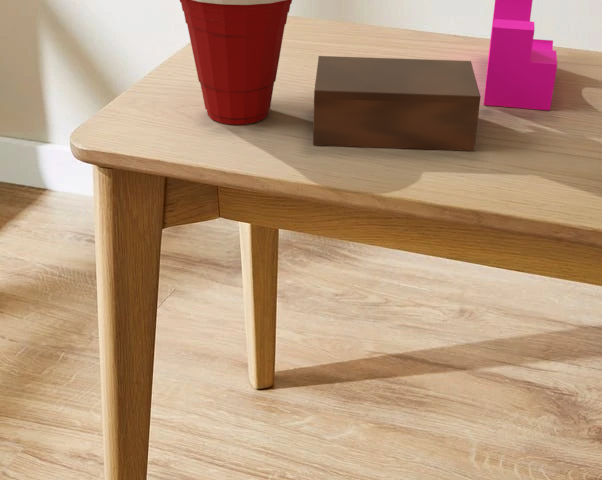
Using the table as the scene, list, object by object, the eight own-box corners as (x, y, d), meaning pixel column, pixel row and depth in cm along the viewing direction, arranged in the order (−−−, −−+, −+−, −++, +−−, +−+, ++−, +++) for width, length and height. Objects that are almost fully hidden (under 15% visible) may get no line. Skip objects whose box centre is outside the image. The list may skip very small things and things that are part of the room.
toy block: (549, 110, 93) (562, 32, 89) (483, 104, 94) (492, 27, 90) (547, 59, 105) (558, -12, 101) (488, 55, 106) (497, -15, 102)
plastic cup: (304, 96, 95) (306, -31, 89) (286, 139, 86) (287, 2, 80) (195, 88, 96) (190, -37, 90) (166, 130, 87) (158, -5, 81)
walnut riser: (465, 112, 92) (471, 60, 89) (474, 151, 85) (480, 96, 82) (317, 106, 93) (318, 55, 90) (312, 145, 85) (314, 90, 82)
